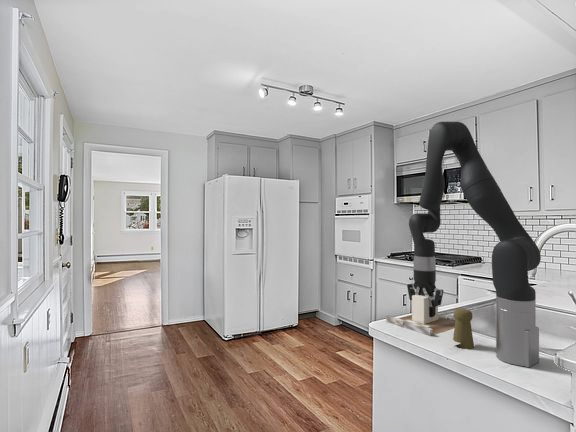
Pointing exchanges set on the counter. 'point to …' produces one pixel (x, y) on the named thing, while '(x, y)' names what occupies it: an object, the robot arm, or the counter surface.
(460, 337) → the olive knobbed cone
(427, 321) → the carton
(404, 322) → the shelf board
